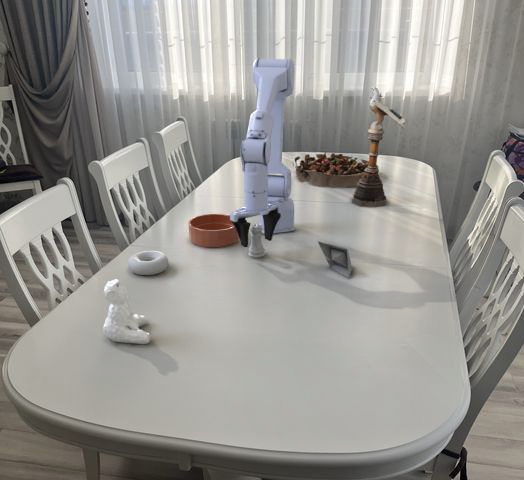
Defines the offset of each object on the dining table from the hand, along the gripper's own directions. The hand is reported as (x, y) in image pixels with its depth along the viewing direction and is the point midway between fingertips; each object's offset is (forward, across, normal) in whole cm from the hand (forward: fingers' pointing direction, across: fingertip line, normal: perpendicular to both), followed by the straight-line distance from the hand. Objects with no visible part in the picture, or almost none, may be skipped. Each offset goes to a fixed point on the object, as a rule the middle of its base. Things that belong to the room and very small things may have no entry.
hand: (256, 242), depth 141 cm
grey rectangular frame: (+4, +10, -19) cm, 21 cm away
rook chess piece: (+4, 0, 0) cm, 4 cm away
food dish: (+3, +71, +46) cm, 85 cm away
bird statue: (+4, +59, +14) cm, 61 cm away
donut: (+4, -26, +9) cm, 28 cm away
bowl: (+3, -2, +16) cm, 17 cm away
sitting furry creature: (+4, -45, -18) cm, 49 cm away
